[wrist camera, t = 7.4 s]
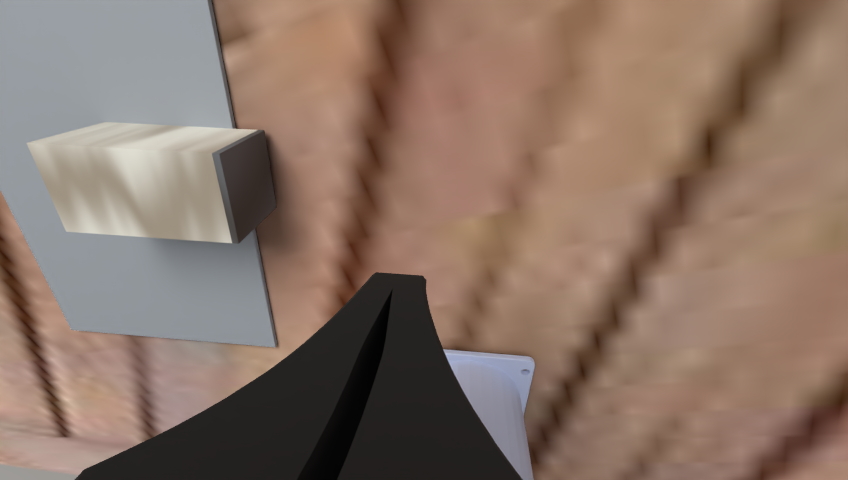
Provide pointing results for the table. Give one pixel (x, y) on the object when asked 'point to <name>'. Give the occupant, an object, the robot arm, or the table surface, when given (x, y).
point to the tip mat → (123, 103)
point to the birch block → (158, 180)
